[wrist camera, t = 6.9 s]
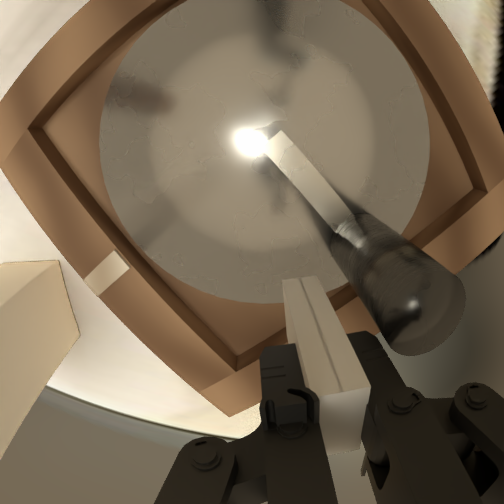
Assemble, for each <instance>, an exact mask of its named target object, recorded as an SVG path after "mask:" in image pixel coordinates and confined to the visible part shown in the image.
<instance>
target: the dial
mask: <svg viewBox="0 0 504 504" xmlns="http://www.w3.org/2000/svg"><path fill="white" fill-rule="evenodd" d="M99 147H100V162H101V168H102V173H103V177H104V182H105V186H106V189H107V191H108V194H109V197H110V200H111V203H112V205H113V207H114V209H115V211H116V213H117V215H118V217H119V219H120V221H121V223H122V224H123V226H124V227H125V229H126V230H127V231H128V233H129V234H130V236H131V237H132V239H133V240H134V241H135V242H136V244H137V245H138V246H139V247H140V248H141V249H142V250H143V251H144V252H145V253H146V255H147V256H148V257H149V258H151V259H152V260H153V261H154V262H155V263H156V264H158V265H159V266H160V267H161V268H162V269H164V270H165V271H166V272H168V273H169V274H171V275H172V276H174V277H176V278H177V279H179V280H180V281H182V282H184V283H186V284H188V285H190V286H192V287H194V288H196V289H198V290H200V291H203V292H206V293H209V294H211V295H214V296H217V297H220V298H225V299H229V300H234V301H239V302H248V303H260V304H267V303H284V296H283V285H282V280H285V279H293V278H301V277H309V276H317V278H318V280H319V281H320V283H321V285H322V287H323V289H324V291H325V293H326V292H328V291H331V290H333V289H335V288H338V287H340V286H342V285H344V284H346V283H347V282H349V283H350V285H351V286H352V288H353V289H354V291H355V292H356V294H357V295H358V297H359V298H360V300H361V302H362V303H363V305H364V306H365V308H366V309H367V311H368V313H369V314H370V316H371V317H372V319H373V320H374V322H375V324H376V325H377V327H378V328H379V330H380V332H381V333H382V335H383V337H384V338H385V340H386V341H387V343H388V344H389V346H390V347H391V348H392V349H393V350H394V351H395V352H397V353H399V354H401V355H406V356H415V355H420V354H423V353H426V352H429V351H431V350H433V349H434V348H436V347H438V346H439V345H440V344H442V343H443V342H444V341H445V340H446V339H447V338H448V337H449V336H450V335H451V334H452V332H453V331H454V330H455V328H456V327H457V325H458V324H459V322H460V320H461V317H462V315H463V311H464V308H465V299H466V297H465V290H464V287H463V284H462V282H461V281H460V279H459V278H458V277H457V276H455V275H454V274H453V273H452V272H450V271H449V270H448V269H446V268H445V267H444V266H443V265H441V264H440V263H439V262H437V261H436V260H435V259H433V258H432V257H431V256H429V255H428V254H427V253H425V252H424V251H423V250H421V249H420V248H418V247H417V246H416V245H414V244H413V243H412V242H410V241H409V240H407V239H406V238H405V237H403V236H402V235H401V234H402V233H403V231H404V229H405V228H406V226H407V224H408V223H409V221H410V219H411V218H412V216H413V214H414V211H415V209H416V207H417V205H418V202H419V200H420V198H421V194H422V191H423V188H424V184H425V181H426V176H427V170H428V164H429V153H430V135H429V125H428V117H427V113H426V108H425V104H424V100H423V97H422V94H421V91H420V89H419V86H418V84H417V81H416V79H415V77H414V75H413V73H412V71H411V69H410V67H409V65H408V64H407V62H406V60H405V59H404V57H403V56H402V54H401V53H400V52H399V50H398V49H397V48H396V46H395V45H394V44H393V42H392V41H391V40H390V39H389V38H388V37H387V36H386V35H385V34H384V33H383V32H382V31H381V30H380V29H379V28H378V27H377V26H376V25H375V24H374V23H373V22H371V21H370V20H369V19H368V18H366V17H365V16H364V15H363V14H361V13H360V12H358V11H357V10H355V9H353V8H352V7H350V6H348V5H347V4H345V3H343V2H342V1H340V0H187V1H186V2H184V3H182V4H180V5H179V6H177V7H175V8H174V9H172V10H170V11H169V12H167V13H166V14H165V15H164V16H162V17H161V18H160V19H158V20H157V21H156V22H155V23H153V24H152V25H151V26H150V27H149V28H148V29H147V30H146V31H145V32H144V33H143V34H142V35H141V36H140V37H139V38H138V40H137V41H136V42H135V43H134V44H133V46H132V47H131V49H130V50H129V51H128V53H127V54H126V56H125V57H124V58H123V60H122V62H121V64H120V65H119V67H118V69H117V71H116V73H115V75H114V77H113V79H112V82H111V84H110V87H109V90H108V92H107V95H106V98H105V102H104V107H103V111H102V116H101V123H100V136H99Z"/></svg>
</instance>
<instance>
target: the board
mask: <svg viewBox="0 0 504 504" xmlns="http://www.w3.org/2000/svg"><path fill="white" fill-rule="evenodd" d="M186 1H187V0H90V1H89V2H88V3H87V4H85V5H84V6H83V7H82V8H81V9H80V10H79V11H78V12H77V13H76V14H75V15H74V16H73V17H72V18H70V19H69V20H68V21H67V22H66V23H65V24H64V25H63V26H62V27H61V28H60V29H59V31H58V32H57V33H56V34H55V35H54V36H53V37H52V38H51V39H50V40H49V41H48V42H47V43H46V44H45V46H44V47H43V48H42V49H41V50H40V51H39V52H38V53H37V55H36V56H35V57H34V58H33V59H32V61H31V62H30V63H29V64H28V65H27V67H26V68H25V69H24V70H23V72H22V73H21V74H20V75H19V77H18V78H17V79H16V81H15V82H14V83H13V85H12V86H11V87H10V89H9V90H8V92H7V93H6V94H5V96H4V97H3V99H2V100H1V101H0V168H1V169H2V171H3V173H4V174H5V176H6V177H7V179H8V181H9V182H10V184H11V185H12V187H13V188H14V190H15V191H16V193H17V194H18V196H19V197H20V199H21V200H22V201H23V203H24V204H25V206H26V207H27V209H28V210H29V211H30V213H31V214H32V216H33V217H34V218H35V220H36V221H37V223H38V224H39V225H40V227H41V228H42V229H43V231H44V232H45V233H46V235H47V236H48V237H49V238H50V240H51V241H52V242H53V244H54V245H55V246H56V247H57V249H58V250H59V251H60V252H61V254H62V255H63V256H64V257H65V259H66V260H67V261H68V262H69V263H70V265H71V266H72V267H73V268H74V269H75V271H76V272H77V273H78V274H79V275H80V276H81V278H82V279H83V281H84V282H85V283H86V285H87V286H88V287H89V288H90V289H91V290H92V291H93V293H94V294H95V295H96V296H97V297H99V298H100V299H101V300H102V301H103V302H104V303H105V304H106V306H107V307H108V308H109V309H110V310H111V311H112V312H113V313H114V314H115V315H116V316H117V317H118V318H119V319H120V320H121V321H122V322H123V323H124V324H125V325H126V326H127V327H128V328H129V329H130V330H131V331H132V332H133V333H134V334H135V335H136V336H137V337H138V338H139V339H140V340H141V341H142V342H143V343H144V344H145V345H146V346H147V347H148V348H149V349H150V350H151V351H152V352H153V353H154V354H155V355H156V356H157V357H159V358H160V359H161V360H162V361H163V362H164V363H165V364H166V365H167V366H168V367H169V368H171V369H172V370H173V371H174V372H175V373H176V374H177V375H178V376H180V377H181V378H182V379H183V380H184V381H185V382H186V383H188V384H189V385H190V386H191V387H192V388H194V389H195V390H196V391H197V392H198V393H199V394H201V395H202V396H203V397H204V398H206V399H207V400H208V401H209V402H210V403H212V404H213V405H214V406H215V407H217V408H218V409H219V410H220V411H222V412H223V413H224V414H226V415H227V416H228V417H231V416H233V415H235V414H237V413H239V412H242V411H244V410H246V409H248V408H250V407H252V406H254V405H256V404H258V403H260V402H261V400H262V390H261V376H260V362H259V357H260V355H261V353H262V351H263V349H264V348H265V347H268V346H276V345H284V344H289V343H288V339H287V331H286V319H285V307H284V303H267V304H260V303H248V302H239V301H234V300H229V299H225V298H220V297H217V296H214V295H211V294H209V293H206V292H203V291H200V290H198V289H196V288H194V287H192V286H190V285H188V284H186V283H184V282H182V281H180V280H179V279H177V278H176V277H174V276H172V275H171V274H169V273H168V272H166V271H165V270H164V269H162V268H161V267H160V266H159V265H158V264H156V263H155V262H154V261H153V260H152V259H151V258H149V257H148V256H147V255H146V253H145V252H144V251H143V250H142V249H141V248H140V247H139V246H138V245H137V244H136V242H135V241H134V240H133V239H132V237H131V236H130V234H129V233H128V231H127V230H126V229H125V227H124V226H123V224H122V223H121V221H120V219H119V217H118V215H117V213H116V211H115V209H114V207H113V205H112V203H111V200H110V197H109V194H108V191H107V189H106V186H105V182H104V177H103V173H102V168H101V162H100V147H99V136H100V123H101V116H102V111H103V107H104V102H105V98H106V95H107V92H108V90H109V87H110V84H111V82H112V79H113V77H114V75H115V73H116V71H117V69H118V67H119V65H120V64H121V62H122V60H123V58H124V57H125V56H126V54H127V53H128V51H129V50H130V49H131V47H132V46H133V44H134V43H135V42H136V41H137V40H138V38H139V37H140V36H141V35H142V34H143V33H144V32H145V31H146V30H147V29H148V28H149V27H150V26H151V25H152V24H153V23H155V22H156V21H157V20H158V19H160V18H161V17H162V16H164V15H165V14H166V13H167V12H169V11H170V10H172V9H174V8H175V7H177V6H179V5H180V4H182V3H184V2H186ZM340 1H342V2H343V3H345V4H347V5H348V6H350V7H352V8H353V9H355V10H357V11H358V12H360V13H361V14H363V15H364V16H365V17H366V18H368V19H369V20H370V21H371V22H373V23H374V24H375V25H376V26H377V27H378V28H379V29H380V30H381V31H382V32H383V33H384V34H385V35H386V36H387V37H388V38H389V39H390V40H391V41H392V42H393V44H394V45H395V46H396V48H397V49H398V50H399V52H400V53H401V54H402V56H403V57H404V59H405V60H406V62H407V64H408V65H409V67H410V69H411V71H412V73H413V75H414V77H415V79H416V81H417V84H418V86H419V89H420V91H421V94H422V97H423V100H424V104H425V108H426V113H427V117H428V125H429V135H430V153H429V164H428V170H427V176H426V181H425V184H424V188H423V191H422V194H421V198H420V200H419V202H418V205H417V207H416V209H415V211H414V214H413V216H412V218H411V219H410V221H409V223H408V224H407V226H406V228H405V229H404V231H403V233H402V234H401V235H402V236H403V237H405V238H406V239H407V240H409V241H410V242H412V243H413V244H414V245H416V246H417V247H418V248H420V249H421V250H423V251H424V252H425V253H427V254H428V255H429V256H431V257H432V258H433V259H435V260H436V261H437V262H439V263H440V264H441V265H443V266H444V267H445V268H446V269H448V270H449V271H450V272H452V273H453V274H454V275H456V274H457V273H458V272H459V271H460V270H462V269H463V268H464V267H465V266H466V265H467V264H469V263H470V262H471V261H472V260H473V259H474V258H475V257H477V256H478V255H479V254H480V253H481V252H482V251H483V250H484V249H485V248H487V247H488V246H489V245H490V244H491V243H492V242H493V241H494V240H495V239H496V238H497V237H498V236H499V235H500V234H501V233H502V232H503V231H504V135H503V132H502V130H501V127H500V125H499V122H498V120H497V118H496V115H495V113H494V111H493V109H492V106H491V104H490V102H489V100H488V98H487V96H486V94H485V92H484V90H483V88H482V86H481V84H480V82H479V80H478V78H477V76H476V74H475V72H474V70H473V69H472V67H471V65H470V63H469V61H468V60H467V58H466V56H465V54H464V53H463V51H462V49H461V48H460V46H459V45H458V43H457V41H456V40H455V38H454V37H453V35H452V33H451V32H450V30H449V29H448V27H447V26H446V24H445V23H444V22H443V20H442V19H441V17H440V16H439V14H438V13H437V12H436V10H435V9H434V8H433V6H432V5H431V3H430V2H429V1H428V0H340ZM326 295H327V297H328V299H329V301H330V303H331V305H332V307H333V309H334V311H335V313H336V315H337V317H338V319H339V321H340V323H341V325H342V327H343V329H344V331H345V333H346V334H349V333H354V332H360V331H365V330H366V331H368V332H369V333H371V334H372V335H376V334H377V333H379V332H380V330H379V328H378V327H377V325H376V324H375V322H374V320H373V319H372V317H371V316H370V314H369V313H368V311H367V309H366V308H365V306H364V305H363V303H362V302H361V300H360V298H359V297H358V295H357V294H356V292H355V291H354V289H353V288H352V286H351V285H350V283H349V282H347V283H346V284H344V285H342V286H340V287H338V288H335V289H333V290H331V291H328V292H326Z"/></svg>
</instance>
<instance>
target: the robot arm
mask: <svg viewBox="0 0 504 504" xmlns="http://www.w3.org/2000/svg"><path fill="white" fill-rule="evenodd" d="M282 285H283V296H284V307H285V319H286V331H287V339H288V343H289V344H284V345H276V346H268V347H265V348H264V349H263V351H262V353H261V355H260V357H259V362H260V376H261V390H262V400H261V403H260V407H259V410H260V416H261V424H260V425H259V427H258V428H257V429H256V430H255V431H254V432H252V433H251V434H250V435H248V436H245V437H243V438H241V439H238V440H235V441H232V442H229V443H227V442H226V441H225V440H223V439H220V438H217V437H201V438H197V439H194V440H192V441H190V442H189V443H187V444H186V445H184V447H183V448H182V449H181V451H180V452H179V454H178V456H177V458H176V460H175V462H174V464H173V466H172V468H171V470H170V472H169V474H168V476H167V478H166V480H165V482H164V484H163V487H162V488H161V490H160V492H159V495H158V497H157V498H156V500H155V503H154V504H261V503H264V502H266V501H268V504H338V501H337V497H336V492H335V488H334V484H333V479H332V475H331V470H330V466H329V462H328V457H327V456H329V455H335V454H339V453H344V452H349V451H354V450H358V449H360V444H361V440H362V442H363V445H364V448H365V451H366V453H365V457H364V460H363V465H362V468H361V476H365V473H366V470H367V473H368V476H369V479H370V483H371V486H372V489H373V492H374V495H375V498H376V501H377V504H504V398H502V397H501V396H500V395H499V394H498V393H496V392H495V391H494V390H493V389H491V388H490V387H488V386H486V385H484V384H481V383H467V384H465V385H463V386H461V387H460V388H459V389H458V390H457V391H456V393H455V396H454V398H440V399H439V398H438V399H430V398H425V397H424V396H423V395H422V394H421V393H420V392H419V391H417V390H415V389H413V388H411V387H406V385H405V384H404V382H403V380H402V378H401V377H400V375H399V373H398V372H397V370H396V368H395V367H394V365H393V363H392V361H391V360H390V358H389V357H388V355H387V353H386V352H385V350H384V349H383V347H382V345H381V344H380V342H379V340H378V339H377V337H375V336H374V335H372V334H371V333H369V332H368V331H366V330H365V331H360V332H354V333H349V334H346V333H345V331H344V329H343V327H342V325H341V323H340V321H339V319H338V317H337V315H336V313H335V311H334V309H333V307H332V305H331V303H330V301H329V299H328V297H327V295H326V293H325V291H324V289H323V287H322V285H321V283H320V281H319V280H318V278H317V276H309V277H301V278H293V279H285V280H282Z"/></svg>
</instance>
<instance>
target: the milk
mask: <svg viewBox="0 0 504 504" xmlns="http://www.w3.org/2000/svg"><path fill="white" fill-rule="evenodd" d="M79 336H80V333H79V330H78V327H77V324H76V321H75V318H74V315H73V312H72V308H71V305H70V302H69V298H68V295H67V291H66V288H65V284H64V281H63V277H62V273H61V269H60V265H59V261H57V260H54V261H35V262H16V263H2V264H0V459H1V457H2V456H3V454H4V452H5V451H6V449H7V447H8V445H9V443H10V442H11V440H12V438H13V437H14V435H15V433H16V431H17V430H18V428H19V427H20V425H21V423H22V422H23V420H24V418H25V417H26V415H27V413H28V412H29V410H30V409H31V407H32V405H33V404H34V402H35V401H36V399H37V398H38V396H39V395H40V393H41V391H42V390H43V388H44V387H45V385H46V384H47V382H48V381H49V379H50V378H51V376H52V375H53V373H54V372H55V370H56V369H57V368H58V366H59V365H60V363H61V362H62V360H63V359H64V357H65V356H66V355H67V353H68V352H69V350H70V349H71V347H72V346H73V345H74V343H75V342H76V340H77V339H78V338H79Z"/></svg>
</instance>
